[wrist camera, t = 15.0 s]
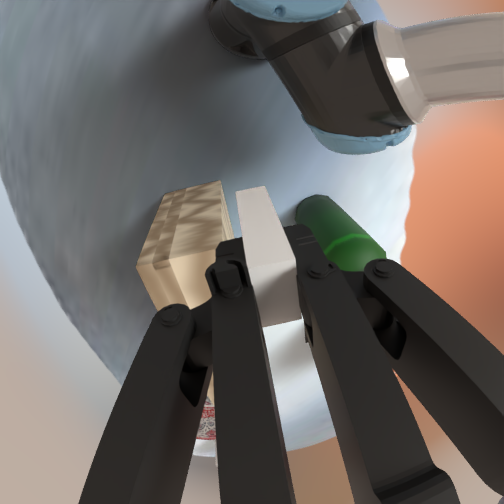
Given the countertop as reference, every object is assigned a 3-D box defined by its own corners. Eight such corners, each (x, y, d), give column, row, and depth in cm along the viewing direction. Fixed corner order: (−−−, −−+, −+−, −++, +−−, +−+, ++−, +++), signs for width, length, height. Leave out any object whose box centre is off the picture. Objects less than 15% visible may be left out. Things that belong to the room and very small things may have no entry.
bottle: (307, 248, 58) (359, 360, 35) (277, 210, 53) (324, 322, 30) (350, 218, 56) (426, 316, 32) (325, 177, 50) (408, 266, 27)
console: (213, 326, 67) (216, 408, 49) (164, 193, 49) (135, 266, 30) (254, 319, 67) (268, 400, 49) (220, 180, 49) (222, 247, 30)
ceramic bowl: (232, 376, 80) (234, 399, 73) (260, 413, 96) (262, 431, 89) (148, 391, 82) (146, 412, 75) (188, 425, 98) (188, 443, 91)
